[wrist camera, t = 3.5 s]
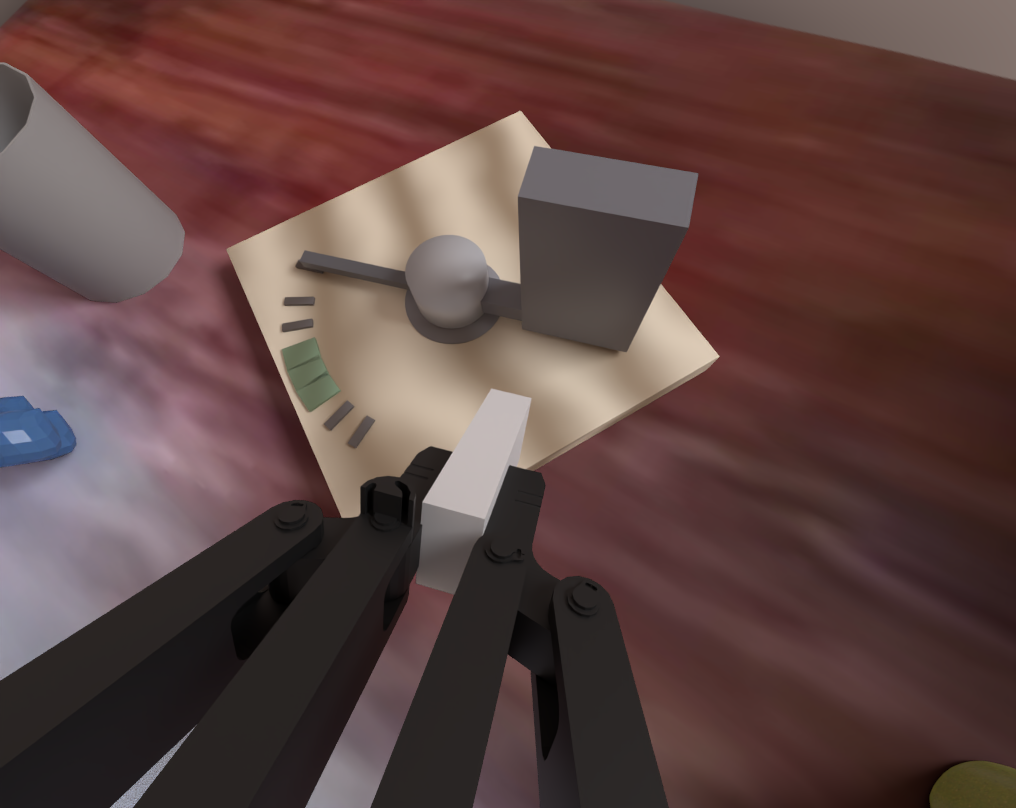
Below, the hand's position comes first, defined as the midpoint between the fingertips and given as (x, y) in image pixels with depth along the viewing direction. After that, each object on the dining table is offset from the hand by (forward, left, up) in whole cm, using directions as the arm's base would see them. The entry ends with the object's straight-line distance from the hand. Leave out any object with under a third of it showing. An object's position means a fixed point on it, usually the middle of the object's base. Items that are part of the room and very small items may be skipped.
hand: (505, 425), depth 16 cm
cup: (+16, -27, -10) cm, 33 cm away
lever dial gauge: (-2, -10, -7) cm, 12 cm away
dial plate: (-2, -10, -9) cm, 14 cm away
